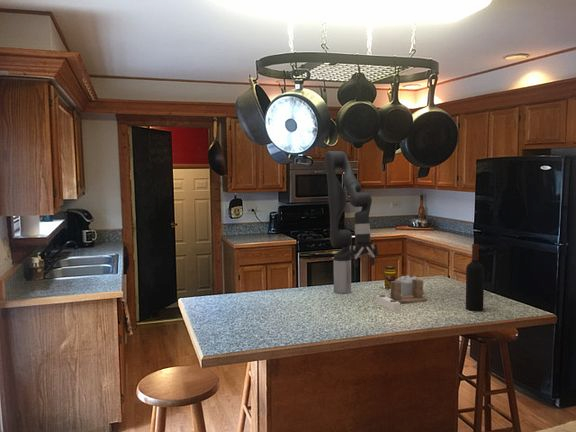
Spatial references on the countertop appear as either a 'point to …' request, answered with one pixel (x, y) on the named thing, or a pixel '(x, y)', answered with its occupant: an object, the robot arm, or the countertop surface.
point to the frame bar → (388, 303)
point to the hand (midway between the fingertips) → (364, 266)
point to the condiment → (389, 276)
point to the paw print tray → (406, 284)
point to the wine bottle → (474, 282)
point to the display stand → (415, 297)
